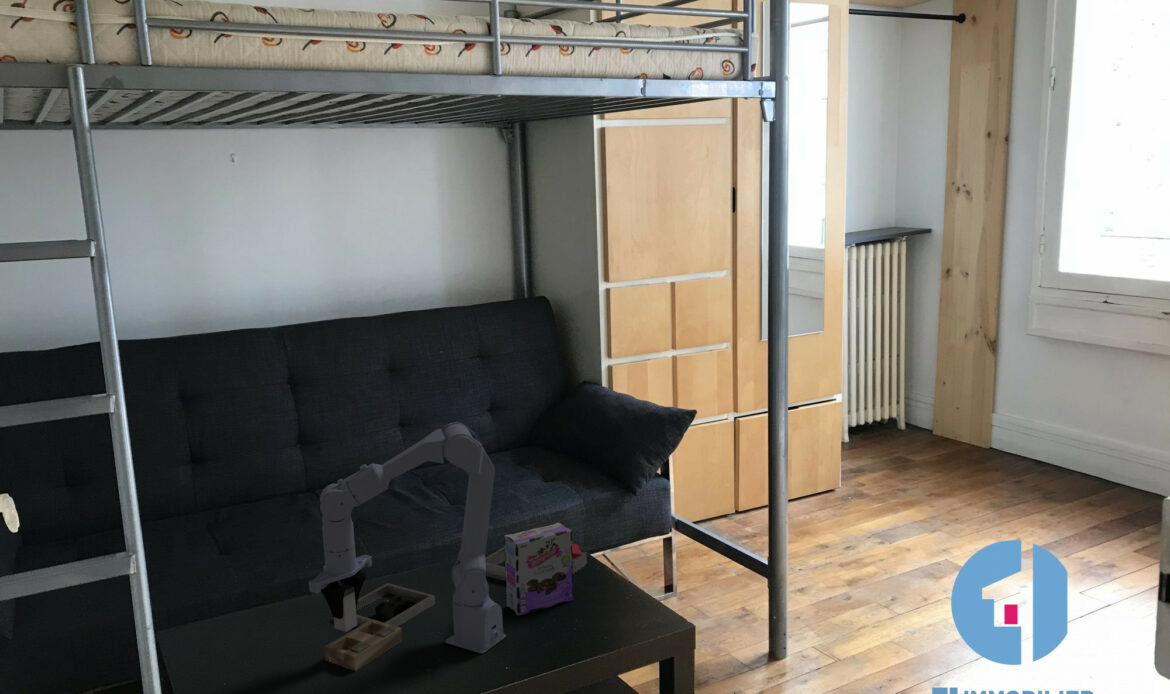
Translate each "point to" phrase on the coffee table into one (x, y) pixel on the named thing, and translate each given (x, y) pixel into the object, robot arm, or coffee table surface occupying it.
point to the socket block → (363, 644)
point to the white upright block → (347, 610)
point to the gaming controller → (393, 606)
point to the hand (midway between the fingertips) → (344, 613)
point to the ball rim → (499, 571)
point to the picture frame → (403, 617)
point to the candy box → (538, 568)
